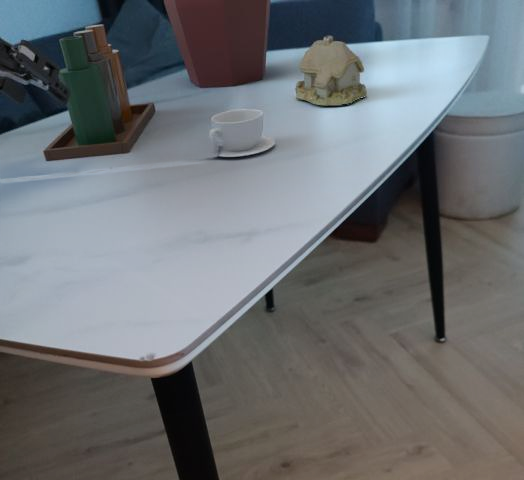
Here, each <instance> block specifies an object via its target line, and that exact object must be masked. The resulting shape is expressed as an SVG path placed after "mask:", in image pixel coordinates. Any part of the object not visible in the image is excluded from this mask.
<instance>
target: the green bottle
mask: <svg viewBox="0 0 524 480" xmlns="http://www.w3.org/2000/svg"><path fill="white" fill-rule="evenodd" d="M59 44H60V49H61V51H62V55H63V58H64V63H65V66H66V67H65V68H60V72H59V75H58V78H59V81H60V82H61V83H63V84H64V85H65V86H66V87H67V88H68V89H69V90H70V96H69V100H68V103H67V104H66V107H67V111H68V115H69V119H70V121H71V124H72V126H73V129H74V133H75V137H76V140H77V143H78V146H83V145H93V144H103V143H113V142H117V140H116V134H115V130H114V126H113V121H112V117H111V113H110V109H109V104H108V100H107V96H106V91H105V87H104V83H103V79H102V74H101V70H100V66H99V65H98V64H89V61H88V57H87V53H86V49H85V45H84V41H83V37H82V36H74V35H73V36H68V37H63V38H60V39H59Z"/></svg>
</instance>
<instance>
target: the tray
mask: <svg viewBox="0 0 524 480" xmlns="http://www.w3.org/2000/svg"><path fill="white" fill-rule="evenodd" d="M130 105H131V110H132V114H133V120H132V121H130V122H127V123H124V124H125V128H126V129H125V131H123V132H121V133H119V134H116V140H117V142H113V143H103V144H93V145H83V146H78V143H77V140H76V137H75V133H74V129H73V126H72V123H71V124H70V125H69V126H68V127H67V128H65V130H63V131H62V132H61V133H60V134H59V135H58V136H57V137H56V138H54V140H53V141H52V142H51V143H49V144H48V145H47V146H46V147H45V148H44V150H43V151H42V152H43V155H44V160H45V161H46V162H53V161H62V160H63V161H65V160H72V159H73V160H74V159H83V158H94V157H103V156H112V155H113V156H114V155H123V154H129V153H130V152H131V150H132V149H133V147H134V145H135V144H136V142H137V141H138V139H139V138H140V137H141V135H142V133H143V132H144V130H145V129H146V127H147V126H148V124H149V123H150V121H151V119H152V118H153V116H154V115H155V113H156V106H155V102H147V103H146V102H145V103H137V104H130Z"/></svg>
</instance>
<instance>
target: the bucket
mask: <svg viewBox="0 0 524 480" xmlns="http://www.w3.org/2000/svg"><path fill="white" fill-rule="evenodd" d="M163 4H164V7H165V11H166V13H167V16H168V19H169V22H170V24H171V28H172V31H173V34H174V37H175V40H176V43H177V45H178V49H179V51H180V55H181V57H182V61H183V63H184V66H185V69H186V72H187V76H188V78H189V81H190V83H191V84H192V85H194V86H196V87H197V88H199V89H203V88H227V87H236V86H240V85H244V84H248V82H249V83H252V81H253V82H257V81H260V80H259V79H262V78H263V79H264V76H265V74H266V67H267V66H266V64H267V52H268V39H269V27H270V26H269V25H270V13H271V11H270V10H271V0H163ZM264 73H265V74H264ZM263 79H262V80H263ZM256 80H257V81H256Z"/></svg>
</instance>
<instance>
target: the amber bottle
mask: <svg viewBox="0 0 524 480" xmlns="http://www.w3.org/2000/svg"><path fill="white" fill-rule="evenodd" d="M84 28H85V30H93V31H94V35H95V39H96V44H97V48H98V51H101V52H102V55H103V56H106V57H109V58H110V62H111V66H112V71H113V75H114V79H115V84H116V88H117V93H118V97H119V102H120V106H121V111H122V115H123V120H124V123H127V122H130V121H132V120H133V114H132V110H131V105H132V104H131V101H130V97H129V92H128V87H127V82H126V78H125V73H124V69H123V63H122V59H121V54H120V50H118V49H113V46H112V44H110V43H109V42H108V37H107V34H106V28H105V25H104V24H94V25H88V26H85V27H84Z"/></svg>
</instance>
